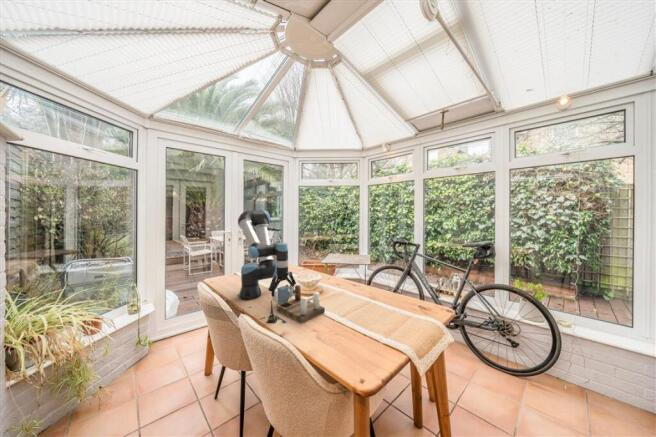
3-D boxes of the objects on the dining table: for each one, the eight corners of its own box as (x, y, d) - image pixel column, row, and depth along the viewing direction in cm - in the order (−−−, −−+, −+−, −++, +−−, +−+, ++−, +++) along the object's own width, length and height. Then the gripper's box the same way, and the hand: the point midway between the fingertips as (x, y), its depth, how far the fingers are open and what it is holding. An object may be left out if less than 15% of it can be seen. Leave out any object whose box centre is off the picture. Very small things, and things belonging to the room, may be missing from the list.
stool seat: (277, 310, 149) (276, 291, 148) (299, 301, 161) (299, 284, 161) (301, 323, 132) (301, 302, 131) (324, 312, 145) (324, 293, 144)
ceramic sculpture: (277, 287, 165) (282, 281, 180) (276, 299, 165) (282, 293, 180) (292, 287, 164) (296, 282, 179) (291, 300, 164) (296, 293, 179)
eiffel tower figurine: (288, 323, 133) (287, 300, 132) (272, 330, 126) (271, 305, 125) (273, 314, 144) (273, 292, 143) (258, 320, 137) (257, 297, 136)
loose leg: (277, 304, 158) (277, 287, 157) (284, 301, 161) (283, 285, 161) (282, 306, 154) (281, 289, 154) (288, 304, 158) (288, 287, 157)
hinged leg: (316, 306, 146) (316, 291, 146) (320, 307, 144) (320, 293, 143) (299, 313, 136) (299, 298, 136) (303, 315, 134) (303, 299, 133)
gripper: (294, 262, 168) (294, 291, 169) (262, 269, 150) (263, 302, 151) (300, 263, 163) (301, 294, 164) (268, 271, 145) (269, 305, 146)
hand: (283, 298), depth 157 cm, fingers open, 13 cm apart
